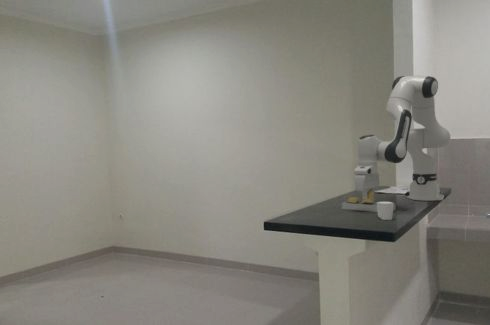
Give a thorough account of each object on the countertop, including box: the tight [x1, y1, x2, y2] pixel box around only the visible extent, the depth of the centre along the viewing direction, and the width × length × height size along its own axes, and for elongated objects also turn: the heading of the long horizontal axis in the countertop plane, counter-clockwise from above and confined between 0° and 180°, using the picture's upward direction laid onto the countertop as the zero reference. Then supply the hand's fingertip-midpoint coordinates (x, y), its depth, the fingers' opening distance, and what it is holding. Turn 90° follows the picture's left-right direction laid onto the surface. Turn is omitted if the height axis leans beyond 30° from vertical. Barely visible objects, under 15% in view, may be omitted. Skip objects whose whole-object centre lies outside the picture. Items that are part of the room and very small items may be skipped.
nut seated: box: [347, 196, 360, 204], centre depth 197 cm, size 4×4×5 cm
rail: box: [341, 200, 397, 213], centre depth 193 cm, size 8×23×4 cm, turn 50°
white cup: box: [376, 201, 394, 221], centre depth 173 cm, size 7×7×7 cm
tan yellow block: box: [361, 190, 375, 203], centre depth 192 cm, size 4×4×5 cm
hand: (368, 198), depth 192 cm, fingers closed on tan yellow block, 4 cm apart
